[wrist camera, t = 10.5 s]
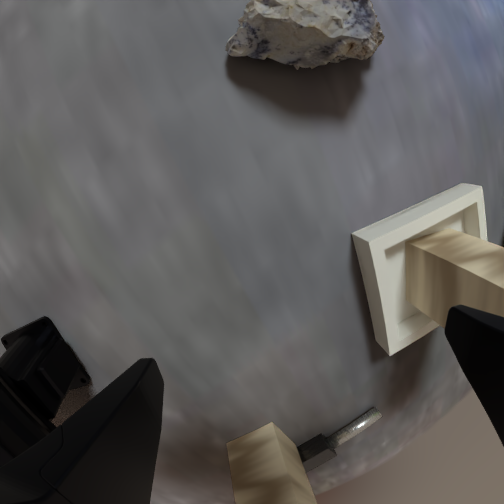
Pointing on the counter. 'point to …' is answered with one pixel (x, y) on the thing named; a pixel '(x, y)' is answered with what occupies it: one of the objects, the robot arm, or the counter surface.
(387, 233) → the tray
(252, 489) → the block
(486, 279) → the block
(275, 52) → the mineral specimen
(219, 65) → the counter surface
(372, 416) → the pin gauge
